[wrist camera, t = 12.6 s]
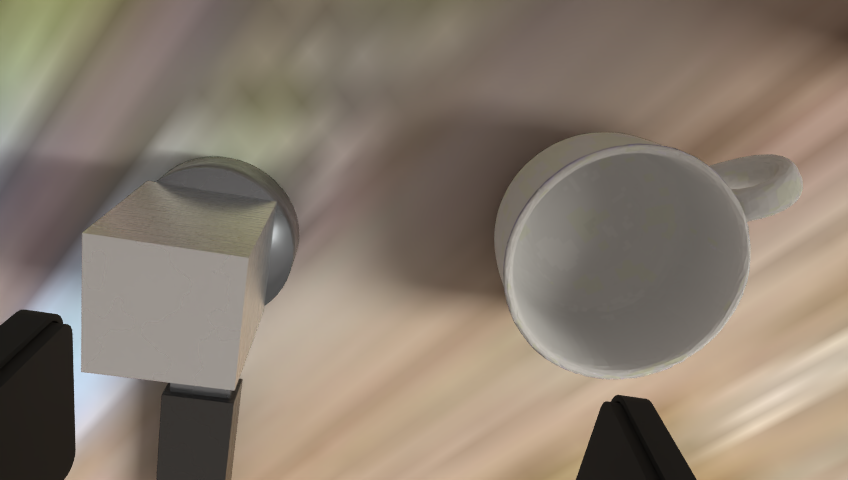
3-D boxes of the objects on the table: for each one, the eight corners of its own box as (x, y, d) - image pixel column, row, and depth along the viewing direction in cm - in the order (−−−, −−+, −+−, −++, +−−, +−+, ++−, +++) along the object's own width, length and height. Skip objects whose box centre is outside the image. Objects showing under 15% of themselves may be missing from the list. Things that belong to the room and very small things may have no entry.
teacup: (504, 323, 36) (536, 408, 29) (455, 147, 32) (478, 192, 25) (739, 256, 36) (834, 325, 28) (720, 68, 32) (823, 90, 24)
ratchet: (264, 490, 40) (247, 563, 34) (132, 476, 39) (94, 549, 33) (308, 171, 32) (294, 204, 27) (147, 143, 31) (102, 172, 26)
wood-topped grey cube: (276, 201, 30) (248, 257, 24) (263, 311, 32) (234, 390, 26) (147, 180, 30) (82, 232, 23) (142, 294, 32) (81, 371, 25)
